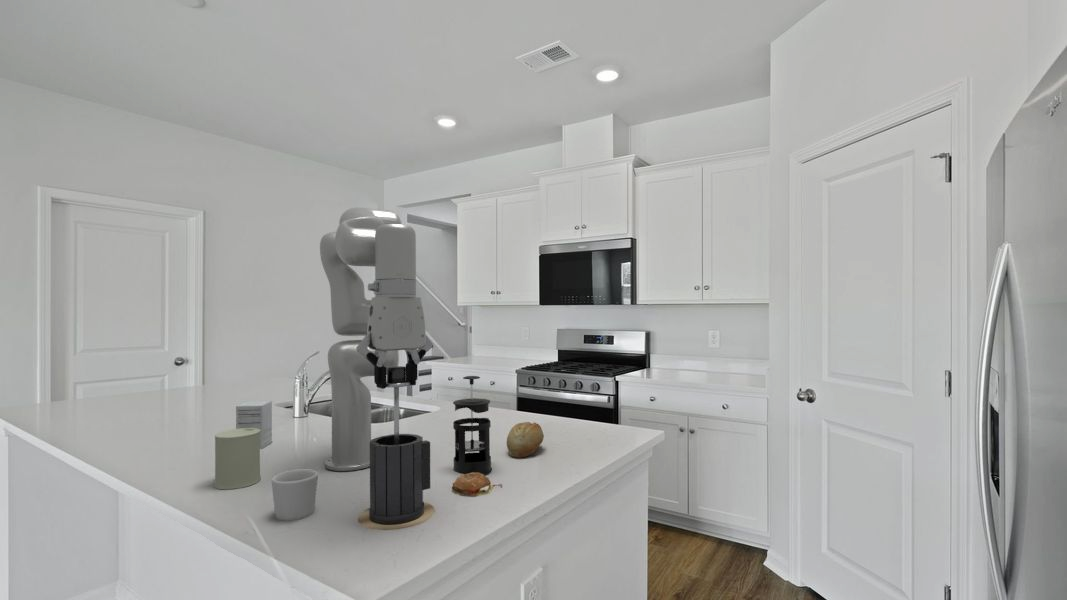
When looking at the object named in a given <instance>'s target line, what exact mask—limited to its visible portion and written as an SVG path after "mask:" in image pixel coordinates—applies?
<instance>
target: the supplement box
mask: <svg viewBox="0 0 1067 600" xmlns="http://www.w3.org/2000/svg"><path fill="white" fill-rule="evenodd" d="M272 404H273V403H272V401H271V400H262V401H261V400H259V401H246V402H244V403H241V404H238V405H236V407H235V416H236V417H235V429H240V428H257V429H260V448H262V449H264V448H265V447H267V446H268V445H270V444H271V443H273V413H272V412H273V407H272V406H273V405H272Z"/></svg>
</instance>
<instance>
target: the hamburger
mask: <svg viewBox="0 0 1067 600" xmlns="http://www.w3.org/2000/svg"><path fill="white" fill-rule="evenodd" d="M496 486H497V487H500V488H503V483H498V484H492V481H491V480H490V478H489V477H487V475H483V474H480V473H475V472H474V473H473V472H472V473H468V474H461V475H459V476H457V478H456V480H454V482H453V483H452V487H451V492H453V493H454V494H455V495H459V496H464V497H465V496H466V497H473V496H474V497H475V496H477V497H478V496H483V495H488V494H490V492H491V491H492V489H493V487H496Z"/></svg>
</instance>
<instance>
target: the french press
mask: <svg viewBox="0 0 1067 600" xmlns="http://www.w3.org/2000/svg"><path fill="white" fill-rule="evenodd" d="M480 378H481V377H480V376H477V375H468V376H467V375H466V376H463V378H462V379H463V380H469V385H470V398H463V399H457V400H453V403H452V404H453V405H454V412H456V411H458V410H461V409H466V408H467V409H469V410H470V411H471V412H470V416H471V417H467V418H461V419H457V420H454V421H453V429H454V439H455V440H454V447H455V448H454V453H455V454H454V455H455V456H454V457H453V471H454V472H456V473H458V474H461V475H464V474H468V473H472V472H473V473H474V472H475V473H480V474H483V475H485V476H487V475H490V474H491V473H492V472H491V471H493V468H492V456H491V455H490V453H491V452H490V450H491V449H490V448H491V447H490V446H491V445H490V444H491V443H490V429H491V420H490V419H489V417H473V416H474V415H473V414H474V413H476V414H482V413H486V412H488V411H489V405H490V403H491V400H489V399H486V398H477V397H476V398H474V397H473V394H474V393H473V385H474V383H475V381H474V380H477V379H478V380H479V379H480ZM466 424H471V425H466ZM474 424H476V425H474ZM477 424H478V425H477ZM466 432H470V433H471V434H470V435H471V439H470V440H466ZM474 432H478V440H474Z"/></svg>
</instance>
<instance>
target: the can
mask: <svg viewBox="0 0 1067 600" xmlns="http://www.w3.org/2000/svg"><path fill="white" fill-rule="evenodd" d="M214 450H215V451H214V452H215V453H214V455H215V456H214V457H215V458H214V460H215V461H214V463H215V465H214V470H215V471H214V485H213V487H214V488H215V489H217V490H223V491H224V490H237V489H243V488H247V487H250V486H253V485H255V484H257V483H259V482H260V481H261V478H262V477H261V459H260V458H261V454H260V453H261V449H260V429H257V428H240V429H236V428H234V429H227V430H223V431H220V432H217V433H216V434H214Z"/></svg>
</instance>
